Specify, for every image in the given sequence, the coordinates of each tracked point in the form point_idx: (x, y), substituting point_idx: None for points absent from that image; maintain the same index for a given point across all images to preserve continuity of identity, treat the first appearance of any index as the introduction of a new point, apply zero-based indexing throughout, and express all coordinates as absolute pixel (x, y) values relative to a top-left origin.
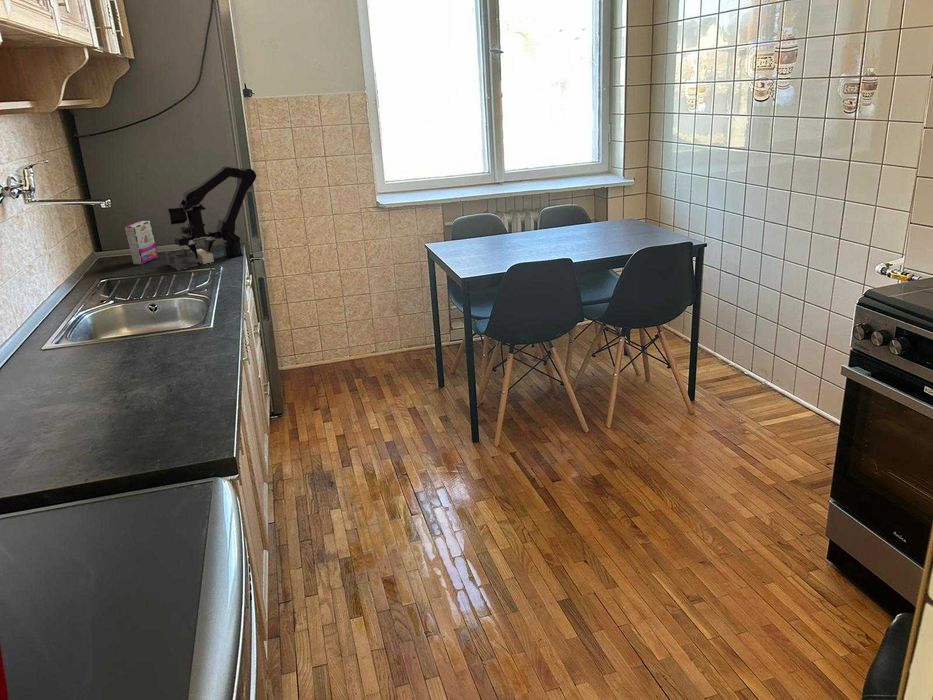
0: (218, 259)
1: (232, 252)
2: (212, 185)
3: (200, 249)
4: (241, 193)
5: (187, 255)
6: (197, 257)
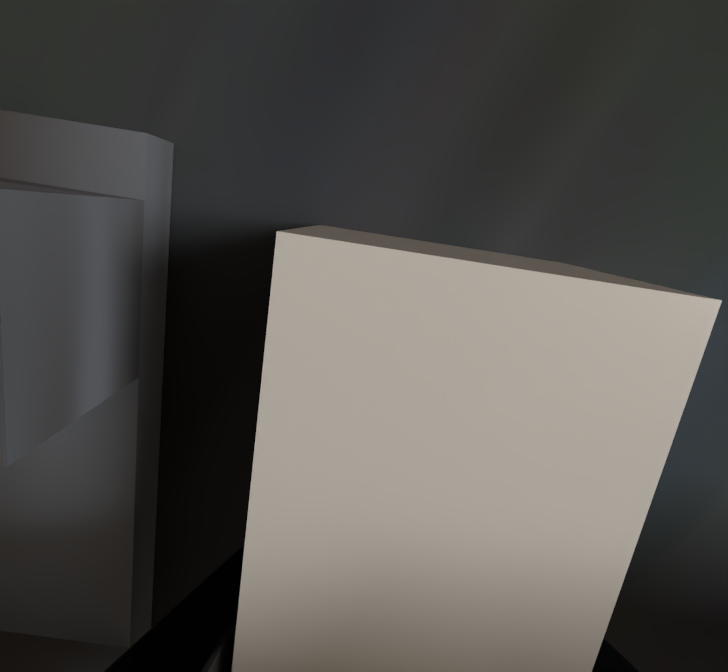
0: None
1: None
2: None
3: (629, 405)
4: None
5: (65, 425)
6: None
